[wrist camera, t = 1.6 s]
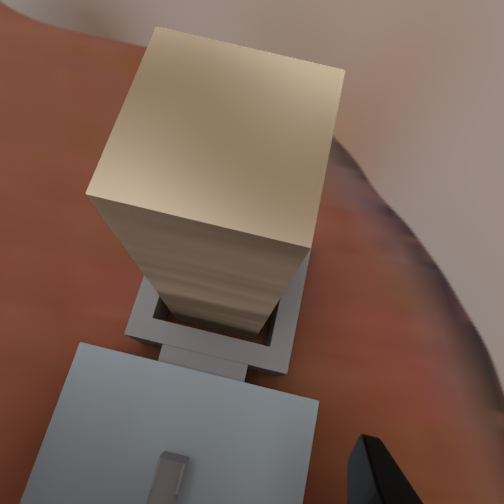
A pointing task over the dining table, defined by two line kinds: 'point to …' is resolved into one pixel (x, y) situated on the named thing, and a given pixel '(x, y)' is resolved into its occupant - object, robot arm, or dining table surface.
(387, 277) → the dining table surface
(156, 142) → the wooden block
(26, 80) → the dining table surface
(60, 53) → the dining table surface
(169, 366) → the toolbox
